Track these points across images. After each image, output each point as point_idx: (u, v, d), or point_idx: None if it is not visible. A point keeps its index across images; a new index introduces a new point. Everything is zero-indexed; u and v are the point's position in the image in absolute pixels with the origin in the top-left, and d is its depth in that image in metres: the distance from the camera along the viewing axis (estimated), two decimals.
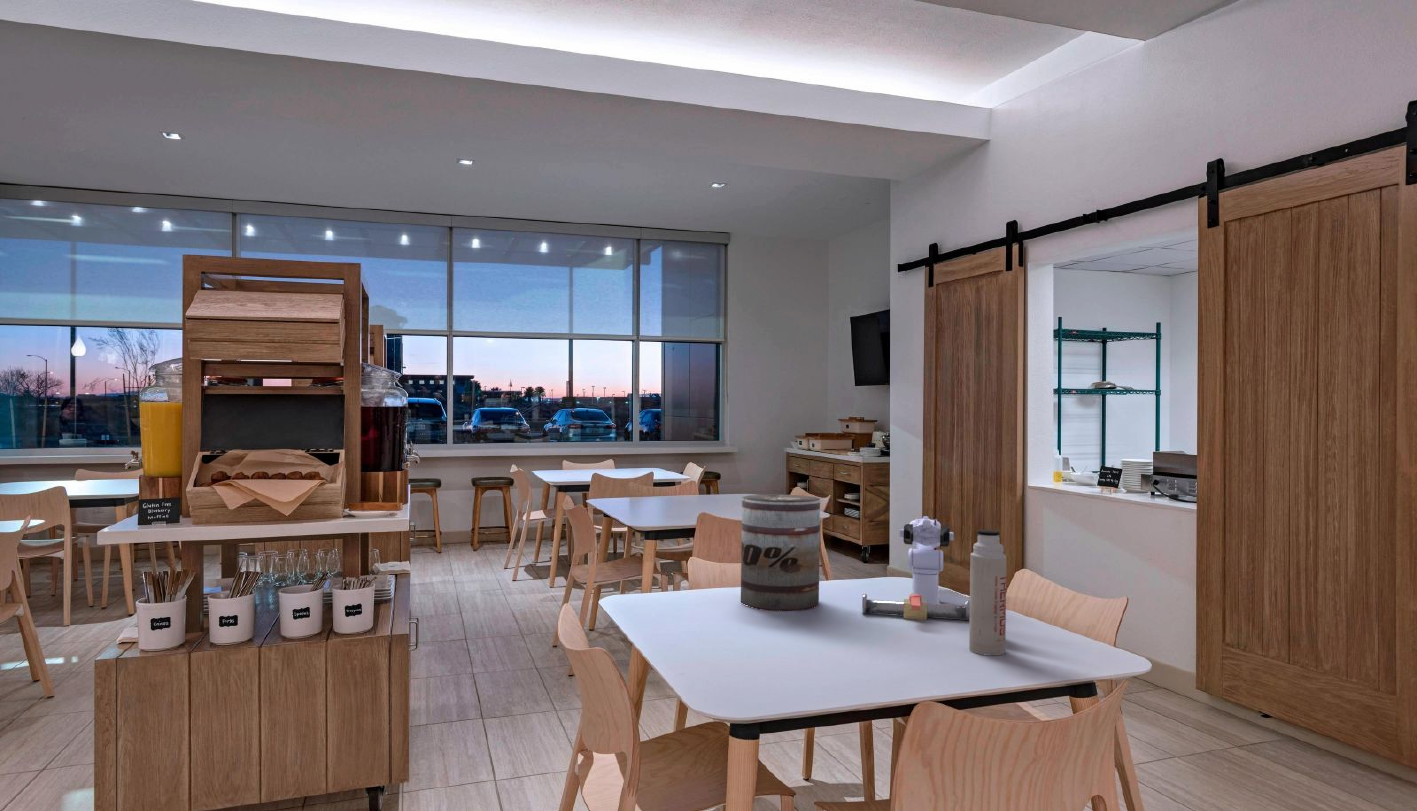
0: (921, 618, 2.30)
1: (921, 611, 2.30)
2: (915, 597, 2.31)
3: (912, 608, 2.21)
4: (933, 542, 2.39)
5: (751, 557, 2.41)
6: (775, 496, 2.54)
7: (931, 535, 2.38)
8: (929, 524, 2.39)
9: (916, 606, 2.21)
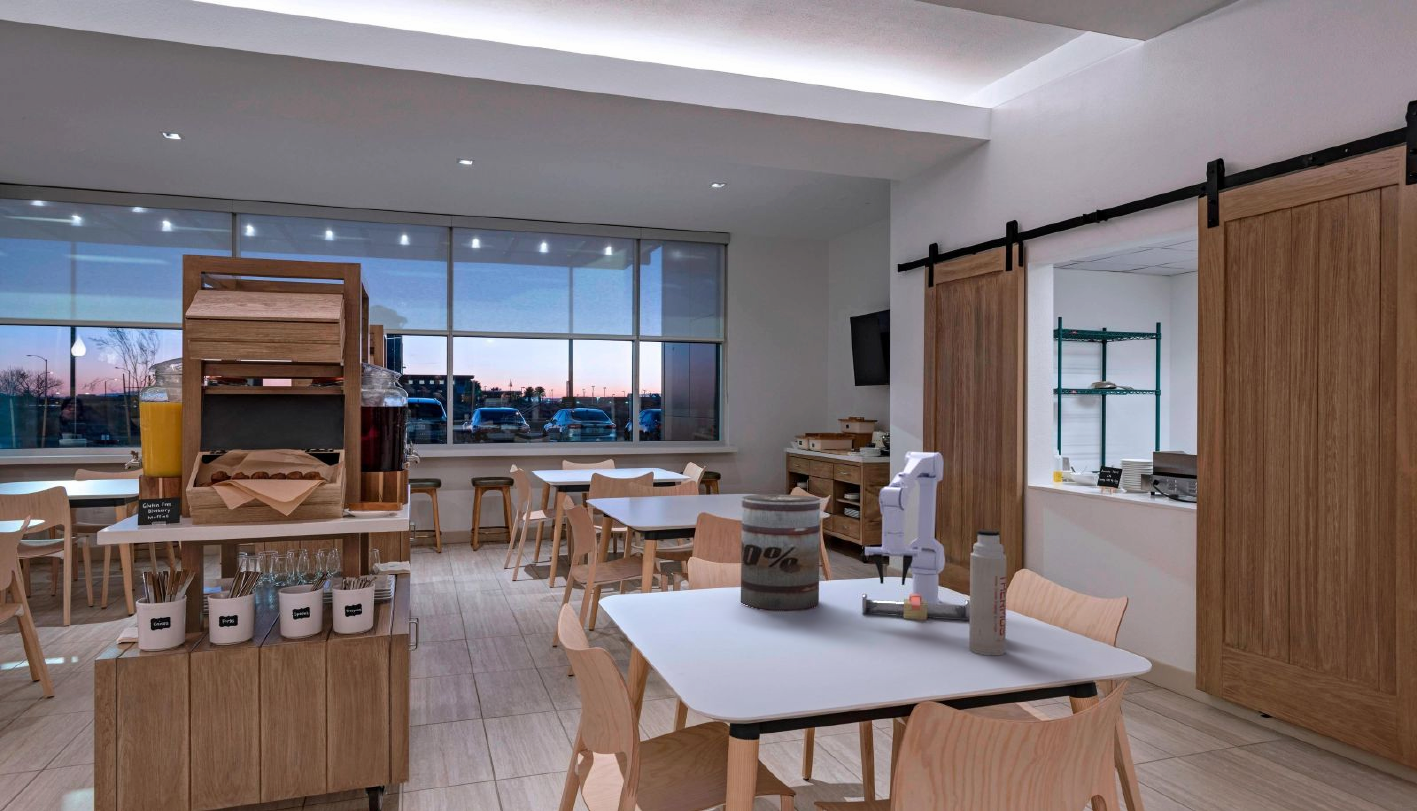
0: (921, 618, 2.30)
1: (921, 611, 2.30)
2: (915, 597, 2.31)
3: (912, 608, 2.21)
4: None
5: (751, 557, 2.41)
6: (775, 496, 2.54)
7: None
8: None
9: (916, 606, 2.21)
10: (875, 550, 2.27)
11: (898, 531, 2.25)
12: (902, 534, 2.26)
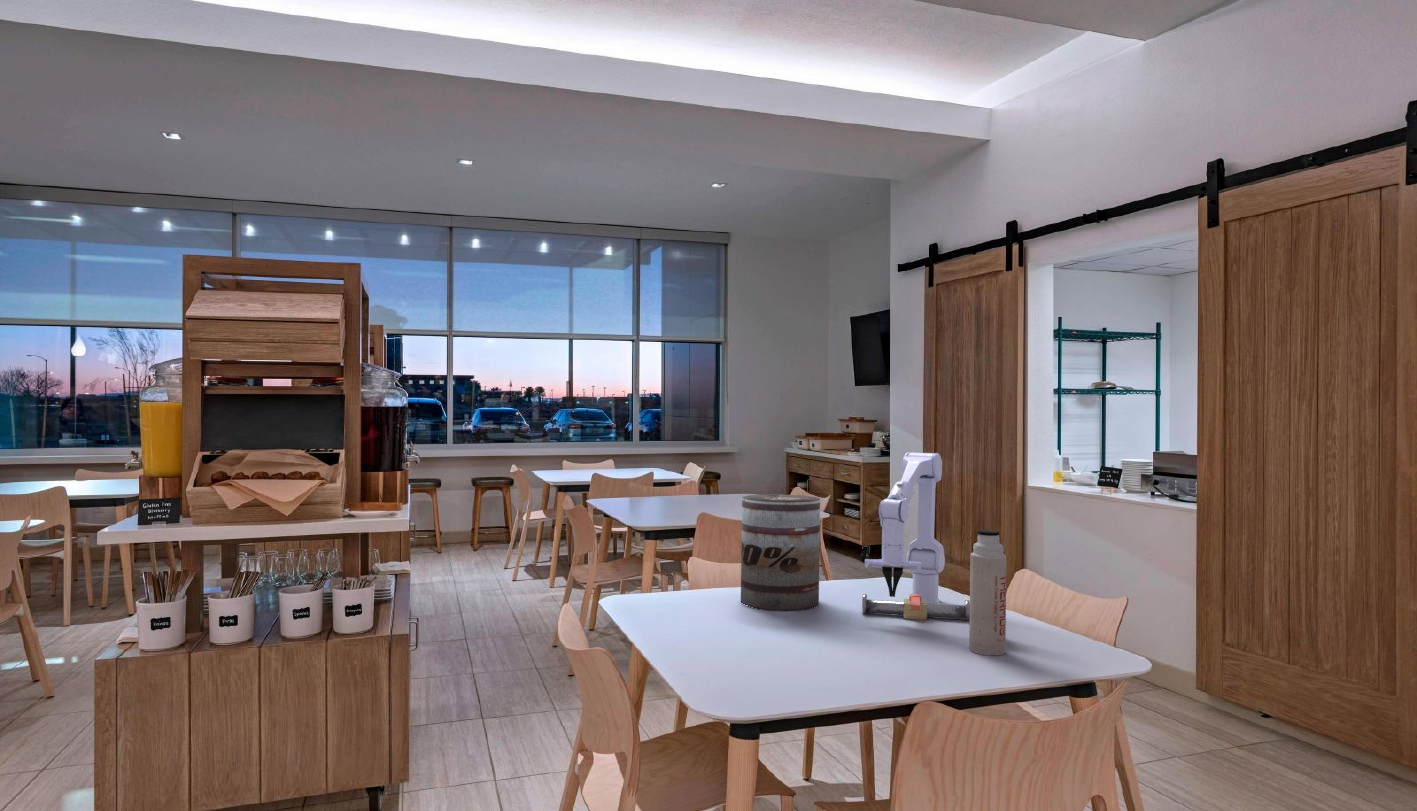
0: (921, 618, 2.30)
1: (921, 611, 2.30)
2: (915, 597, 2.31)
3: (912, 608, 2.21)
4: None
5: (751, 557, 2.41)
6: (775, 496, 2.54)
7: None
8: (895, 565, 2.24)
9: (916, 606, 2.21)
10: (875, 562, 2.27)
11: (898, 543, 2.25)
12: (902, 546, 2.26)
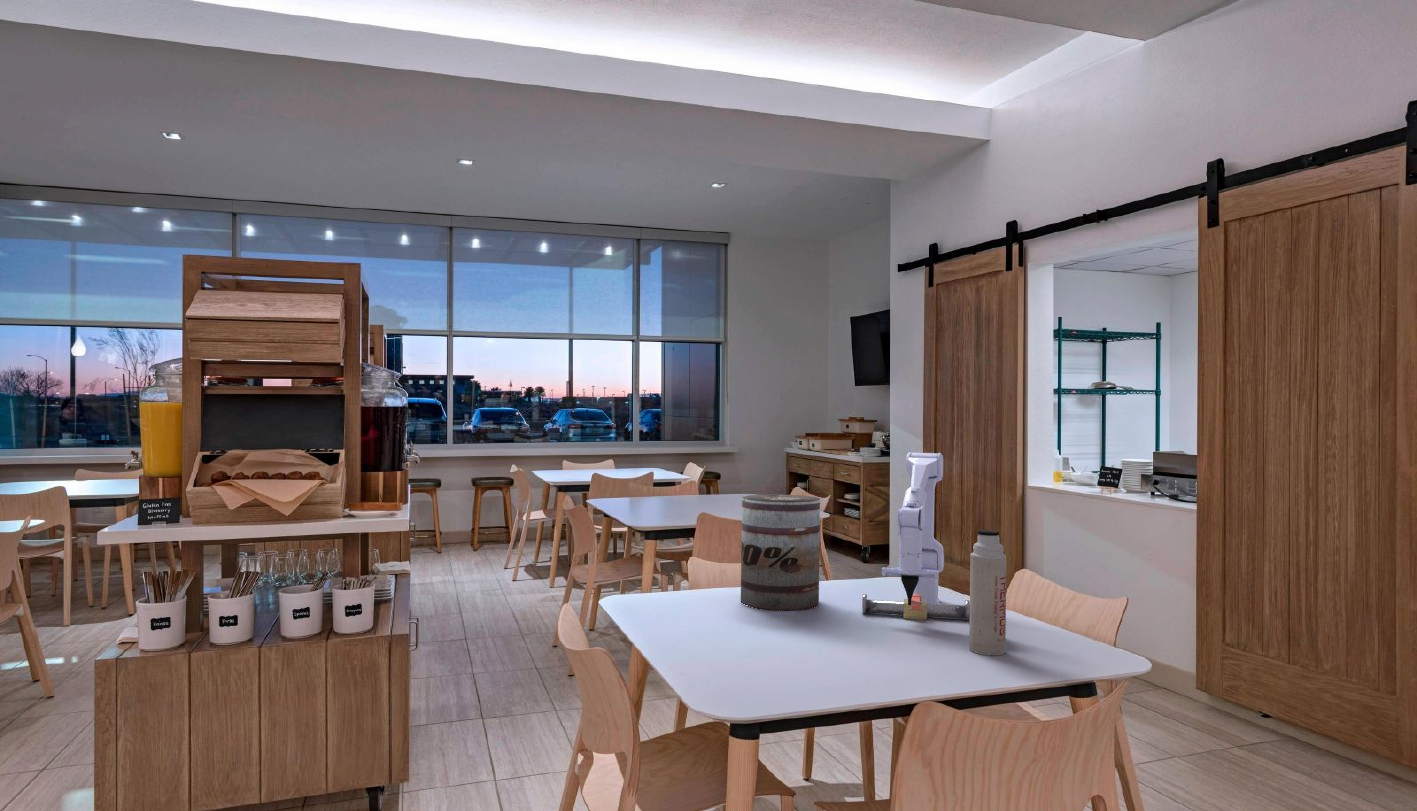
0: (921, 618, 2.30)
1: (921, 611, 2.30)
2: (915, 597, 2.31)
3: (912, 608, 2.21)
4: None
5: (751, 557, 2.41)
6: (775, 496, 2.54)
7: None
8: None
9: (916, 606, 2.21)
10: (892, 571, 2.26)
11: (917, 552, 2.24)
12: (919, 555, 2.25)
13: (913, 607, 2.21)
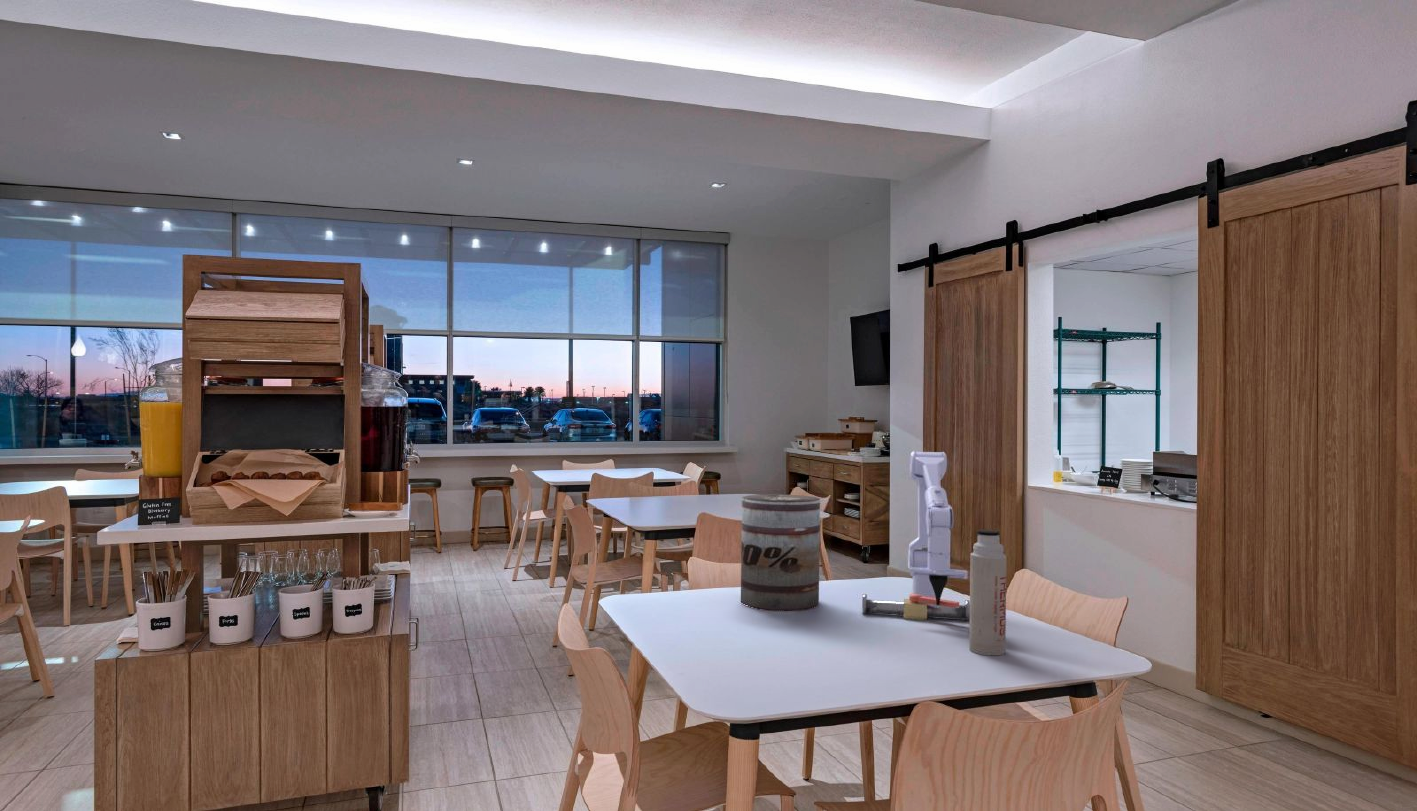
0: (921, 618, 2.30)
1: (921, 611, 2.30)
2: (922, 597, 2.31)
3: (955, 606, 2.24)
4: None
5: (751, 557, 2.41)
6: (775, 496, 2.54)
7: None
8: None
9: (957, 603, 2.25)
10: (921, 571, 2.26)
11: (948, 551, 2.24)
12: (948, 555, 2.24)
13: (956, 605, 2.25)
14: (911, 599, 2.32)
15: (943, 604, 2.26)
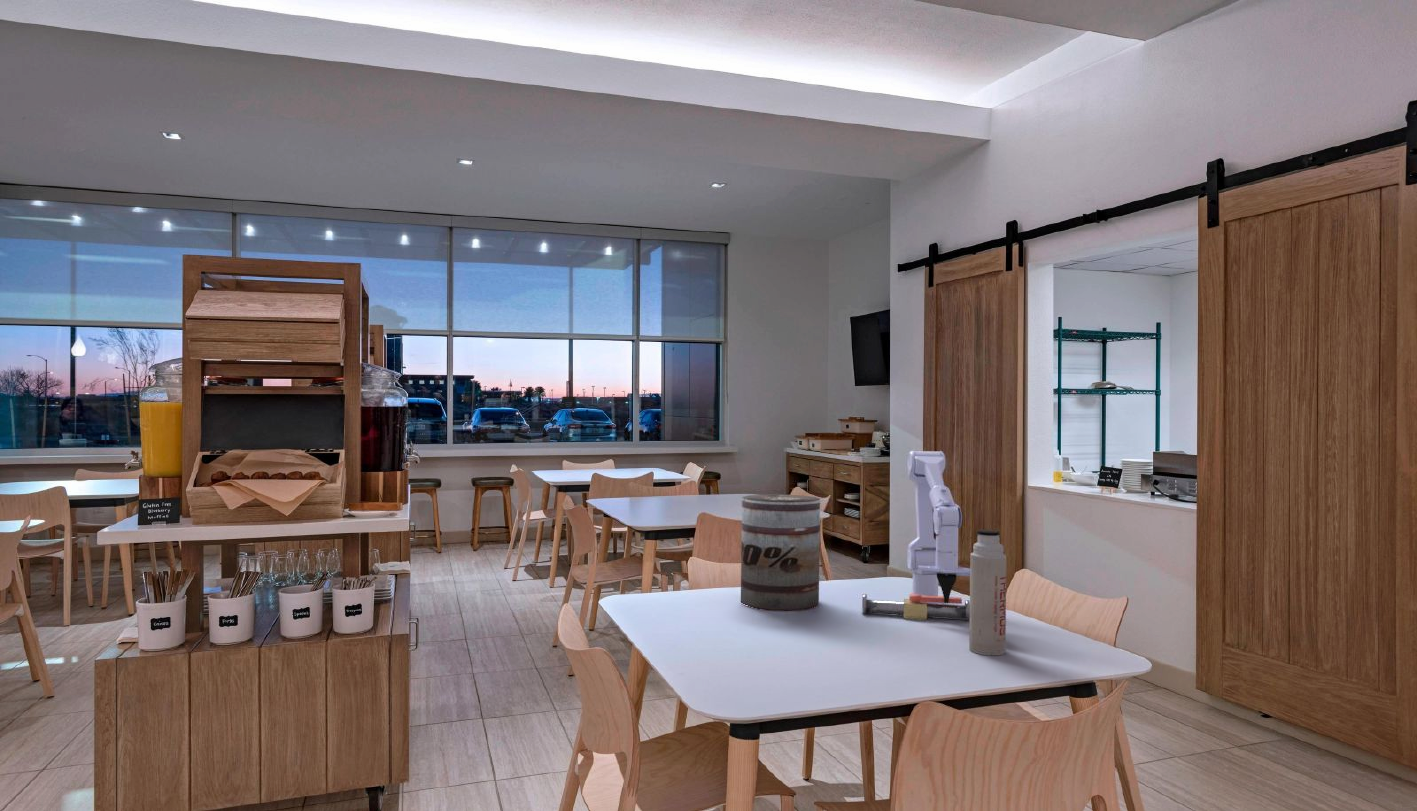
0: (921, 618, 2.30)
1: (921, 611, 2.30)
2: (923, 596, 2.32)
3: (961, 602, 2.29)
4: None
5: (751, 557, 2.41)
6: (775, 496, 2.54)
7: None
8: (950, 572, 2.26)
9: (961, 599, 2.30)
10: (929, 569, 2.29)
11: (956, 550, 2.27)
12: (956, 553, 2.27)
13: (961, 601, 2.30)
14: (914, 599, 2.31)
15: (948, 601, 2.30)
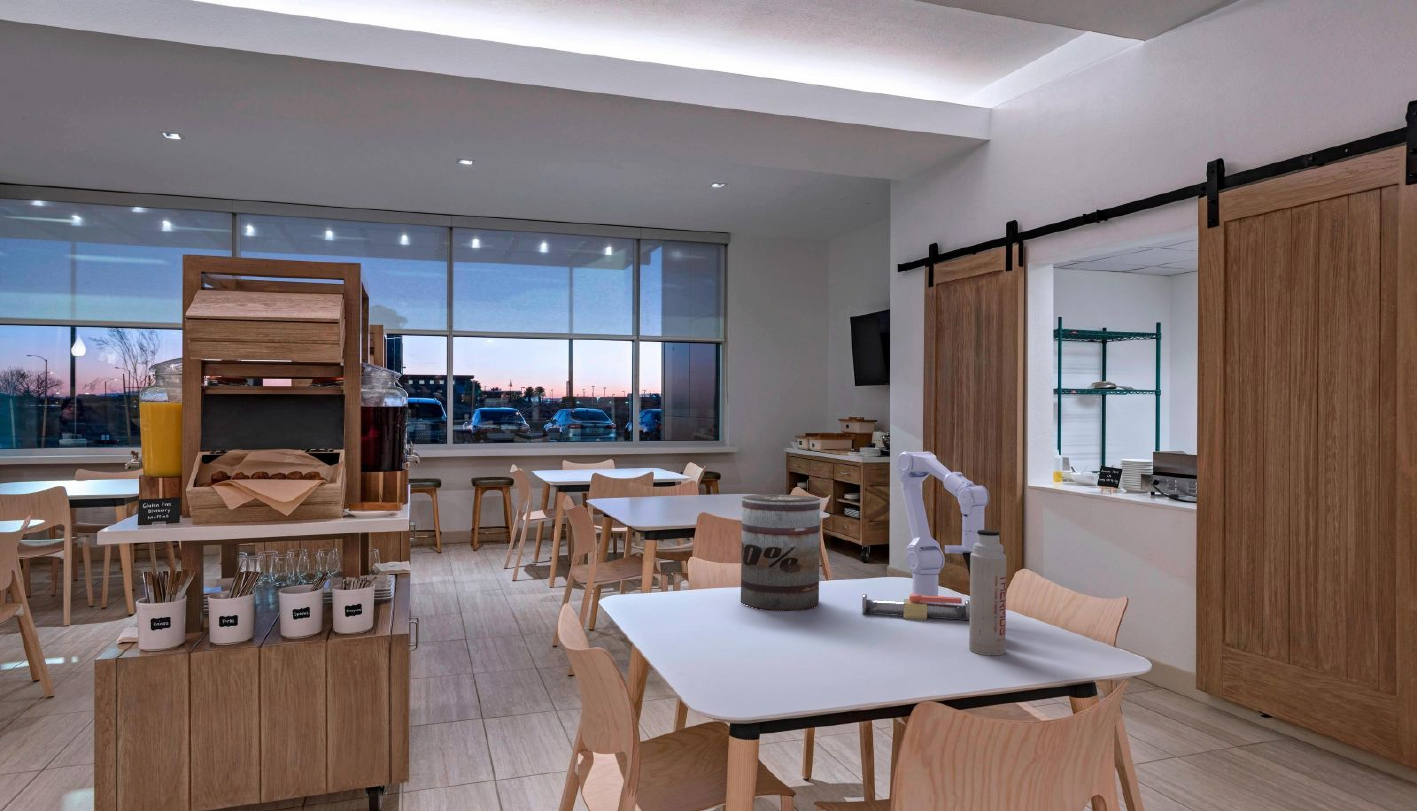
0: (921, 618, 2.30)
1: (921, 611, 2.30)
2: (923, 596, 2.32)
3: (961, 602, 2.30)
4: None
5: (751, 557, 2.41)
6: (775, 496, 2.54)
7: None
8: None
9: (961, 599, 2.30)
10: (955, 548, 2.32)
11: None
12: None
13: (961, 601, 2.30)
14: (914, 599, 2.31)
15: (948, 601, 2.30)
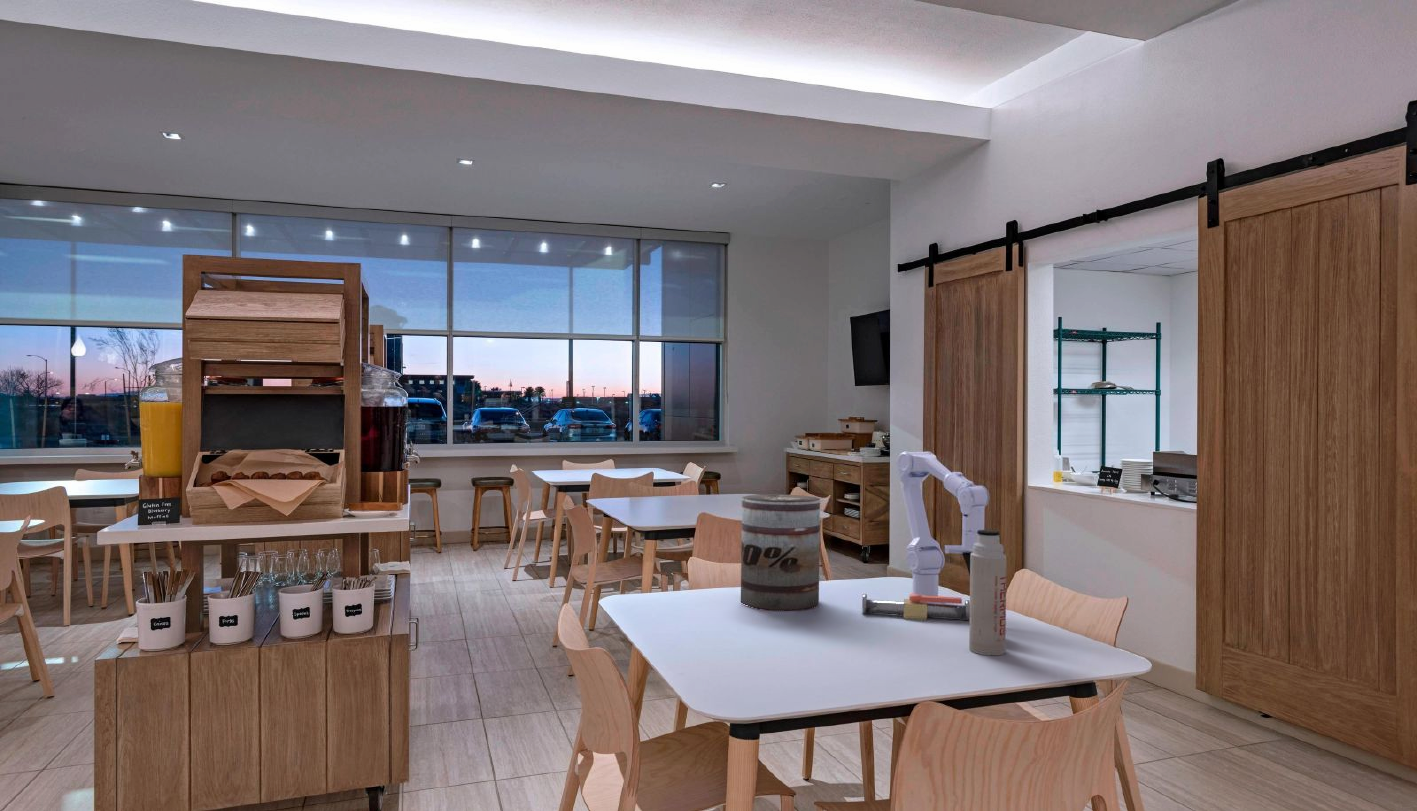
0: (921, 618, 2.30)
1: (921, 611, 2.30)
2: (923, 596, 2.32)
3: (961, 602, 2.30)
4: None
5: (751, 557, 2.41)
6: (775, 496, 2.54)
7: None
8: None
9: (961, 599, 2.30)
10: (956, 548, 2.32)
11: None
12: None
13: (961, 601, 2.30)
14: (914, 599, 2.31)
15: (948, 601, 2.30)
